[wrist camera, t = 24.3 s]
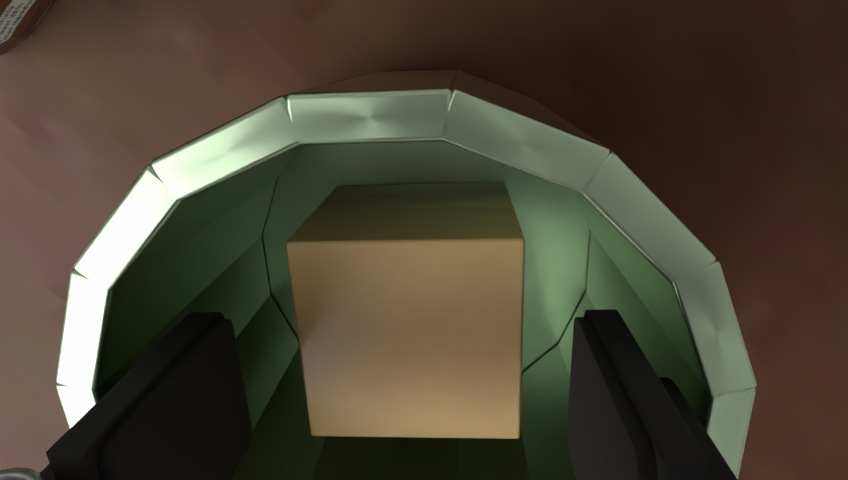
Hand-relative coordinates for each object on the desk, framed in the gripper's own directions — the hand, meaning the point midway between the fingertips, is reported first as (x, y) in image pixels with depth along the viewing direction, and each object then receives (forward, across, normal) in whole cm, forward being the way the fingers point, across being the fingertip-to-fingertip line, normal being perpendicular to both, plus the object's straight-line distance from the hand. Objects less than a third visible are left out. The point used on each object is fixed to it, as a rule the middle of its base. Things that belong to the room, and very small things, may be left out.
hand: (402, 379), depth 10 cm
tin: (+7, 0, 0) cm, 7 cm away
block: (+6, 0, 0) cm, 6 cm away
